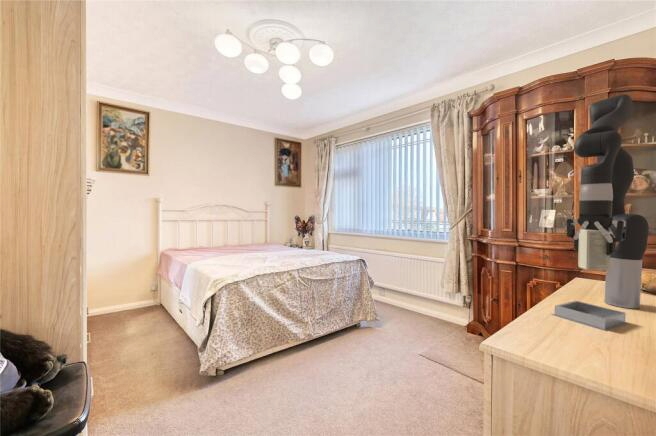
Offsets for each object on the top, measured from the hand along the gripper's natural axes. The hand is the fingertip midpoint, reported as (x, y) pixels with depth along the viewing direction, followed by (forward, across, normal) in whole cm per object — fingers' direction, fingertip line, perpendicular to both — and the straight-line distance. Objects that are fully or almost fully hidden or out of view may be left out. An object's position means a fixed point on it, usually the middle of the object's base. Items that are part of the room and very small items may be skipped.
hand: (593, 253), depth 90 cm
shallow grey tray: (+20, -1, 0) cm, 21 cm away
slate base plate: (+21, -1, 0) cm, 21 cm away
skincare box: (+5, 0, 0) cm, 5 cm away
